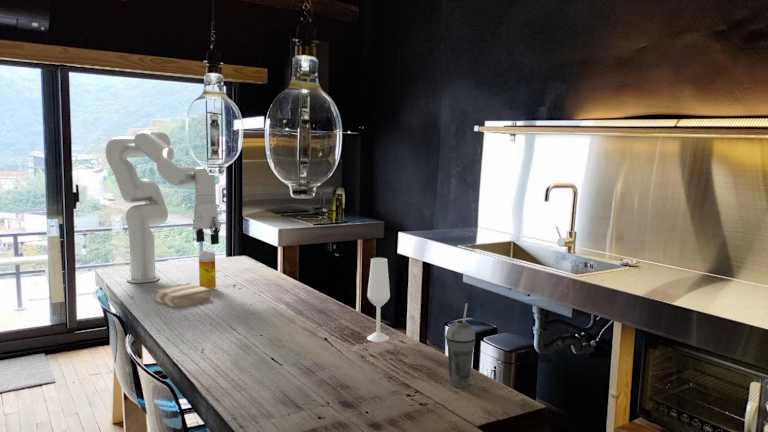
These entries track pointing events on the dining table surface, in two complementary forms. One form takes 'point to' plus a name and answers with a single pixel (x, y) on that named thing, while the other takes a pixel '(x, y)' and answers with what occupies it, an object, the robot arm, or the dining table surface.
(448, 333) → the beverage cup
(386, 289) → the champagne flute
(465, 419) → the dining table surface
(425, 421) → the dining table surface
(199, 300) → the birch plinth
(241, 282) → the dining table surface
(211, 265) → the beer can
